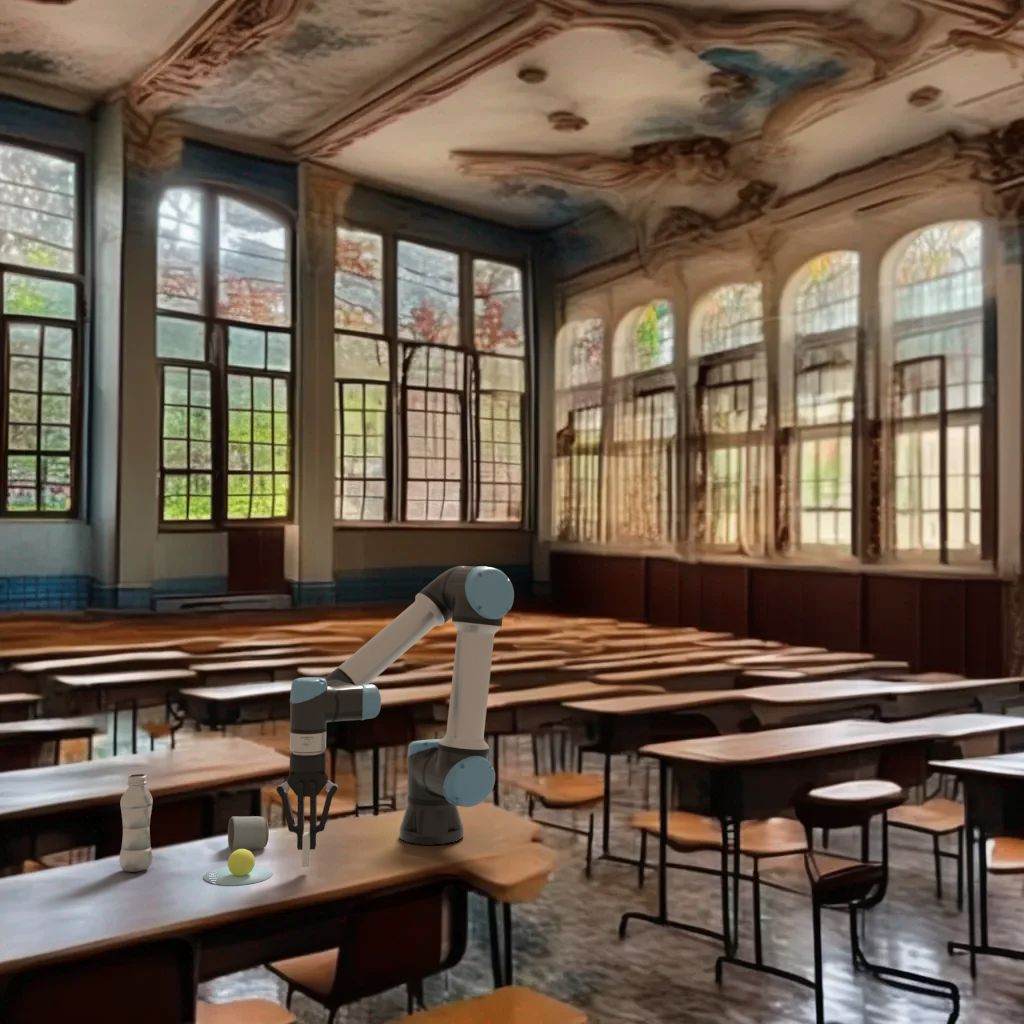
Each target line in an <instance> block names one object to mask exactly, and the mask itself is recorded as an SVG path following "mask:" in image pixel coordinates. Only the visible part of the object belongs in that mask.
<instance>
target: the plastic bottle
mask: <svg viewBox="0 0 1024 1024" xmlns="http://www.w3.org/2000/svg"><path fill="white" fill-rule="evenodd" d="M146 785H147V774H146V773H134V774H130V775H128V777H127V786H128V788H127V789H126V790H125V792H124V793H123V794H122V796H121V797H120V805H119V806H120V810H121V811H120V812H121V818H122V819H121V820H122V838H121V839H122V842H121V849H120V853H119V866H120V868H121V869H122V871H124V872H131V873H132V872H134V873H136V872H141V871H146V870H148V869H149V868H150V867H151V865H152V863H153V849H152V847H151V845H152V844H151V834H150V827H151V826H150V825H151V815H152V810H153V801H154V798H153V797H152V794H151V792H150V790H149V789H148V787H146Z"/></svg>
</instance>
